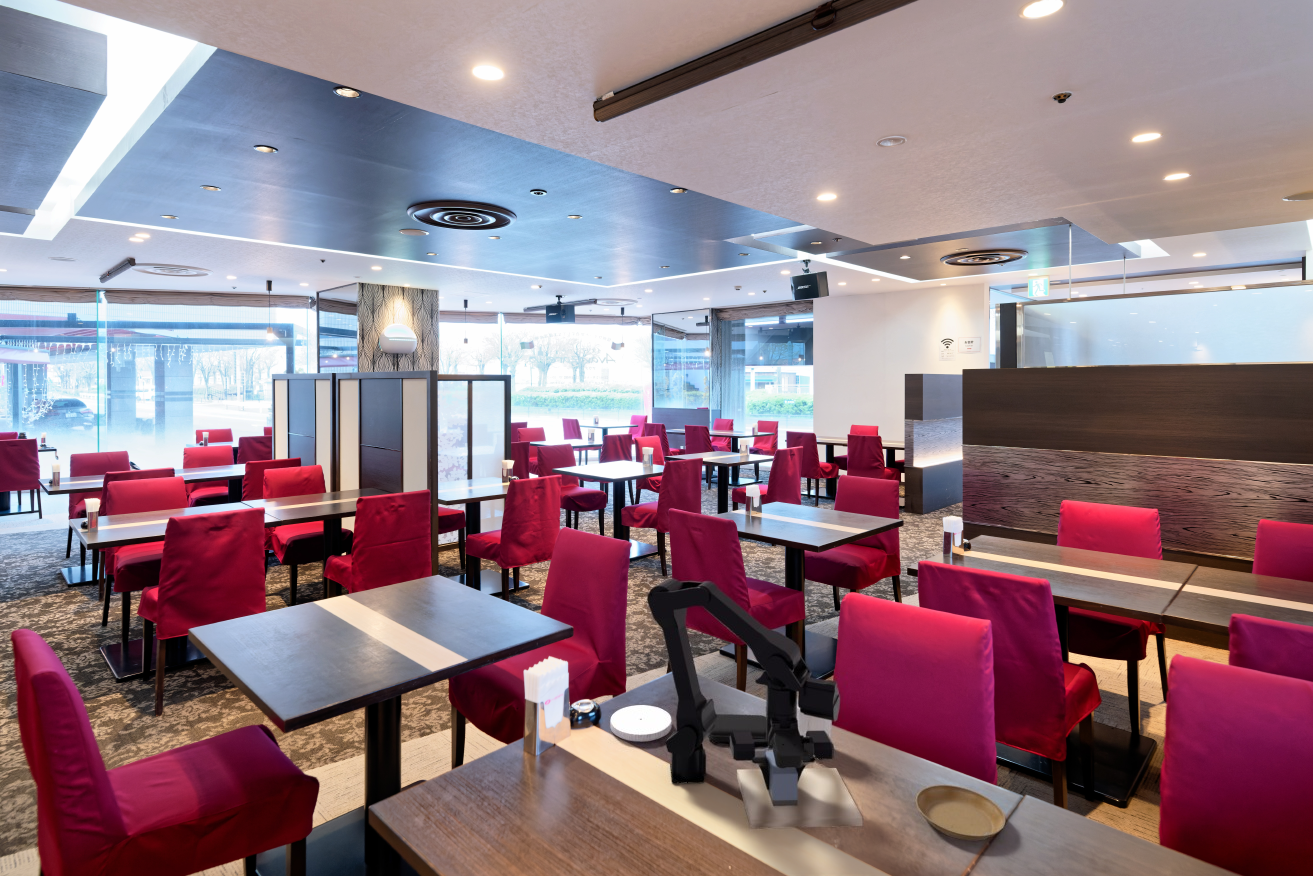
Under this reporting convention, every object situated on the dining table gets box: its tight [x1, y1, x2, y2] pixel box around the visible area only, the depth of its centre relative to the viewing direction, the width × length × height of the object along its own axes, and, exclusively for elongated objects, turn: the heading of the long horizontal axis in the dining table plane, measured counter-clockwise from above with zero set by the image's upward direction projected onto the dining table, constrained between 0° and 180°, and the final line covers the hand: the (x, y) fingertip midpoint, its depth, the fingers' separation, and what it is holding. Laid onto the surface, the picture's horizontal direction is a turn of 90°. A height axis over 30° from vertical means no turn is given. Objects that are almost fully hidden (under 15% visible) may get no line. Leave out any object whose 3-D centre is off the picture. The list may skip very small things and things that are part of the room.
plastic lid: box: [609, 704, 673, 743], centre depth 155 cm, size 14×14×2 cm
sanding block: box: [765, 750, 798, 806], centre depth 128 cm, size 4×8×6 cm, turn 2°
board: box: [736, 767, 863, 829], centre depth 129 cm, size 20×16×2 cm
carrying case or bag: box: [707, 713, 766, 744], centre depth 153 cm, size 11×3×15 cm
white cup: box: [797, 698, 833, 758], centre depth 146 cm, size 8×8×10 cm
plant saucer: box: [915, 784, 1006, 842], centre depth 122 cm, size 15×15×3 cm
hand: (780, 788), depth 128 cm, fingers closed on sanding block, 4 cm apart
